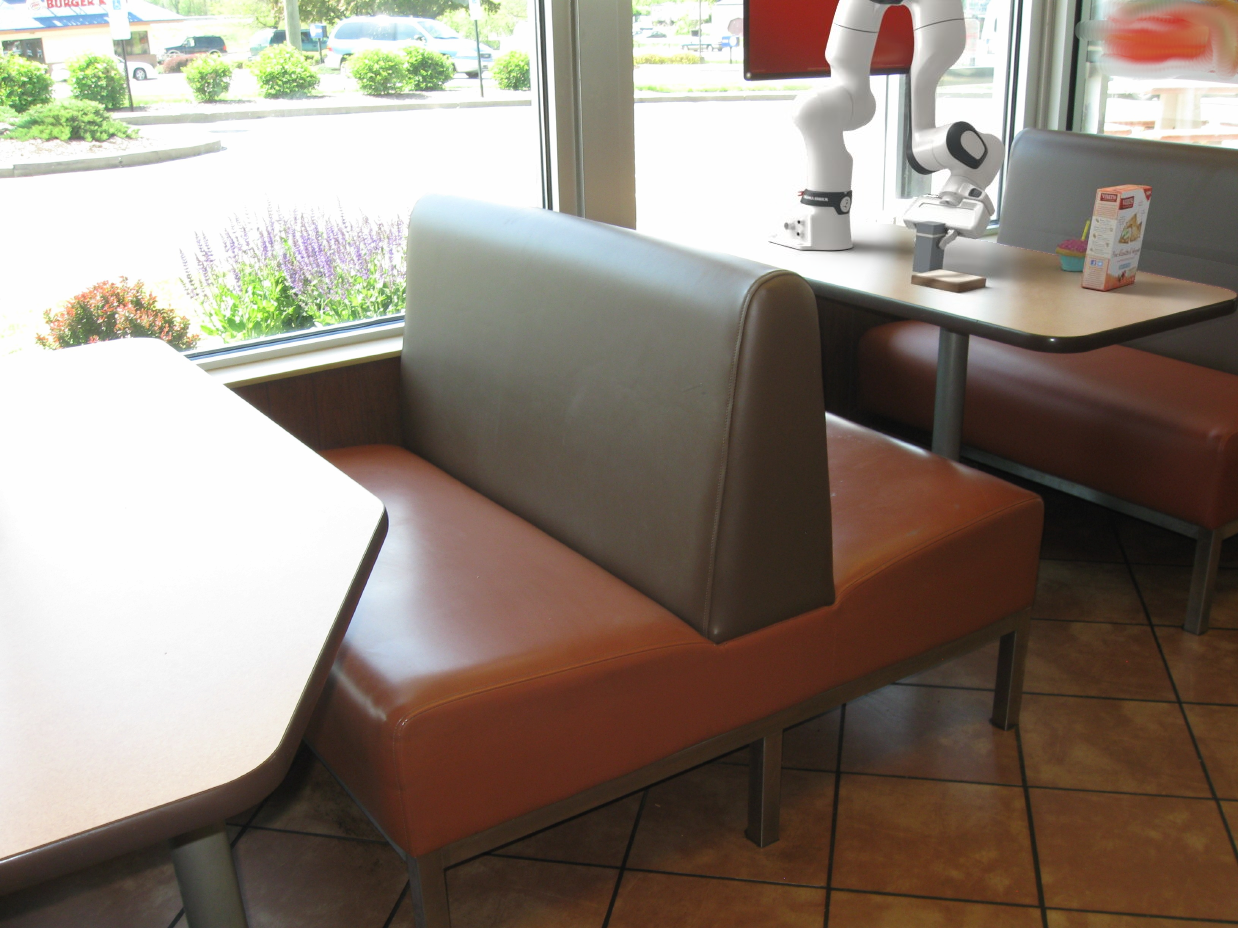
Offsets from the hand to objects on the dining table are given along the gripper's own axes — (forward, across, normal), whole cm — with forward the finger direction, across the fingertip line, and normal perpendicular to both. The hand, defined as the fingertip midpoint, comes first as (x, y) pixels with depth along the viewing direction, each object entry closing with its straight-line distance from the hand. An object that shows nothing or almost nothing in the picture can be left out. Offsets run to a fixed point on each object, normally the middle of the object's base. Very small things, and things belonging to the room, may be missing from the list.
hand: (928, 245), depth 249 cm
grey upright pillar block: (+4, 0, +5) cm, 6 cm away
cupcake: (-16, +20, +25) cm, 36 cm away
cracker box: (-9, +34, +18) cm, 39 cm away
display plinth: (+10, +12, -2) cm, 16 cm away
